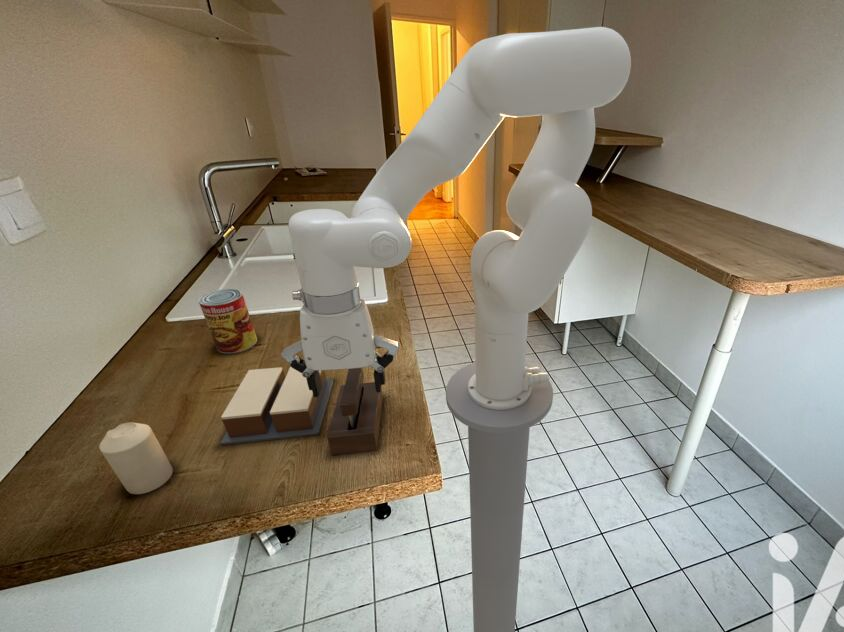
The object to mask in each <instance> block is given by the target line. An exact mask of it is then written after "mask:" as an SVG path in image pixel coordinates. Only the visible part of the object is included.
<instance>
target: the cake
mask: <svg viewBox="0 0 844 632" xmlns="http://www.w3.org/2000/svg"><path fill="white" fill-rule="evenodd" d="M319 373H320V377H321V382H322V388H321V392H320V395H319V396H318V397H314V396H313V392H312V390H309V387H308V383H307V379H306V378H305V377H303V376H302V373H300V372H299V371H297V370H295V369H293V368H292V367H291V366H290V367H289V368H288V371H287V373H286V375H285V371H284V368H283V366H282V367H272V368H271V367H268V368H267V367H266V368H255V369H248V370H247V372H246V374H245V375H244V378H243V379H242V380H241V383H240V384H239V386H238V388H237V389H236V391H235V393H234V395H233V396H232V398H230V401H229V403H228V404H227V406H226V408H225V409H224V411H223V413H222V414H221V416H220V419H221V422H222V423H223V426H224V428H225V430H226V432H225V434H224V436H223V437H222V439H221V441H220V445H221V446H230V445H237V444H247V443H255V442H265V441H274V440H275V441H276V440H283V439H291V438H301V437H302V438H303V437H308V436H309V437H310V436H311V437H312V436H317V435H318V436H319V435H320V431H321V428H322V425H323V421H324V417H325V414H326V410H327V407H328V403H329V400H330V396H331V393H332V389H333V386H334V382H335V380H334V378H329V379H328V378H327V376H326V372H325V370H322V371H319Z"/></svg>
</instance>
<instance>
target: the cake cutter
mask: <svg viewBox="0 0 844 632" xmlns="http://www.w3.org/2000/svg"><path fill="white" fill-rule="evenodd" d="M347 370H348V371H347V374H346V378H345V381H344V382H345V383H344V385H345V386H344V390H343V395H342V399H341V403H340V407H341V412H342V416H349V420H350V425H351V429H352V430H355V429H357V424H358V419H359V413H360V407H361V402H362V392H361V390H362V385H363V383H364V379H365V375H364V370H363V368H353V369H347Z"/></svg>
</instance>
